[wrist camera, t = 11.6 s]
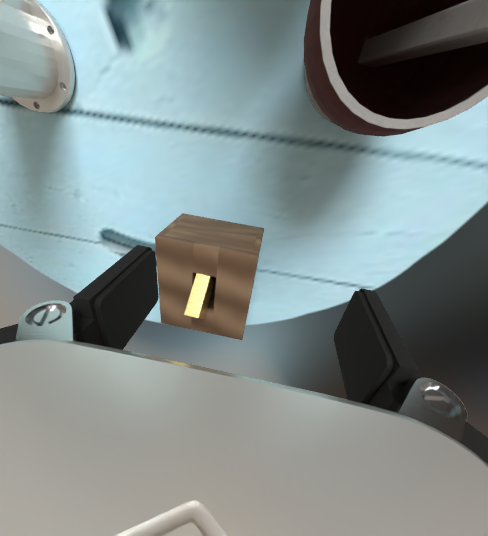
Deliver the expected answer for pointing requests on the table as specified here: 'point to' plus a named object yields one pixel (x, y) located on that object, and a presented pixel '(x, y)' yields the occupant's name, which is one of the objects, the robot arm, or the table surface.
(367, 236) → the table surface
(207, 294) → the golden flat plank
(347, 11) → the mate gourd
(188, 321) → the coin box
